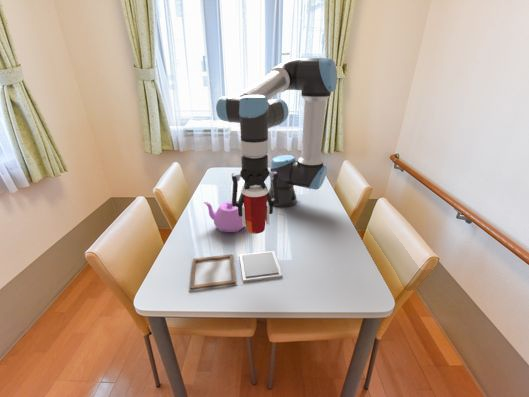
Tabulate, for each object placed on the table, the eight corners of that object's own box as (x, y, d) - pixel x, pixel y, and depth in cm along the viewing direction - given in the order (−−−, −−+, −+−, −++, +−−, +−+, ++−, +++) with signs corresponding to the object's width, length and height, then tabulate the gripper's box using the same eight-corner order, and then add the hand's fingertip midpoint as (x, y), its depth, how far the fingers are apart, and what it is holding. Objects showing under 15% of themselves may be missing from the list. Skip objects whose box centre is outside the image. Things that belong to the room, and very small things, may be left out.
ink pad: (274, 252, 99) (274, 249, 99) (282, 277, 88) (282, 274, 87) (239, 256, 97) (239, 253, 96) (243, 282, 86) (243, 279, 85)
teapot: (202, 235, 109) (198, 209, 103) (210, 217, 122) (208, 193, 116) (250, 237, 108) (249, 211, 102) (254, 219, 120) (253, 195, 115)
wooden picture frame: (233, 255, 98) (233, 253, 97) (237, 285, 84) (237, 282, 84) (192, 260, 95) (191, 257, 95) (189, 291, 82) (188, 289, 82)
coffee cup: (271, 224, 88) (272, 183, 81) (263, 238, 81) (262, 194, 74) (248, 219, 91) (247, 179, 84) (238, 232, 84) (235, 189, 77)
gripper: (286, 148, 79) (283, 214, 90) (218, 151, 77) (224, 219, 87) (292, 156, 73) (288, 226, 83) (218, 160, 70) (224, 232, 80)
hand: (255, 223), depth 85 cm, fingers closed on coffee cup, 7 cm apart
